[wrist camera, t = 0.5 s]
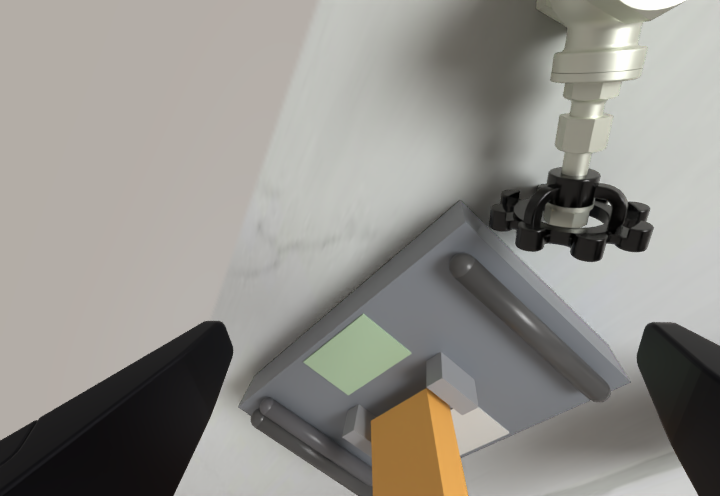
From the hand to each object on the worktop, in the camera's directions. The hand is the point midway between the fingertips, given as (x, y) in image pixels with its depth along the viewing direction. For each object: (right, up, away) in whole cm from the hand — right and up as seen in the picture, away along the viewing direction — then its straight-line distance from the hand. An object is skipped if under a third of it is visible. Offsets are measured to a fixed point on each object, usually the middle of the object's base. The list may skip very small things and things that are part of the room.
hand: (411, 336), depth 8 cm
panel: (+2, -7, +19) cm, 20 cm away
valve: (+8, +10, +9) cm, 16 cm away
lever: (+2, -8, +16) cm, 18 cm away
